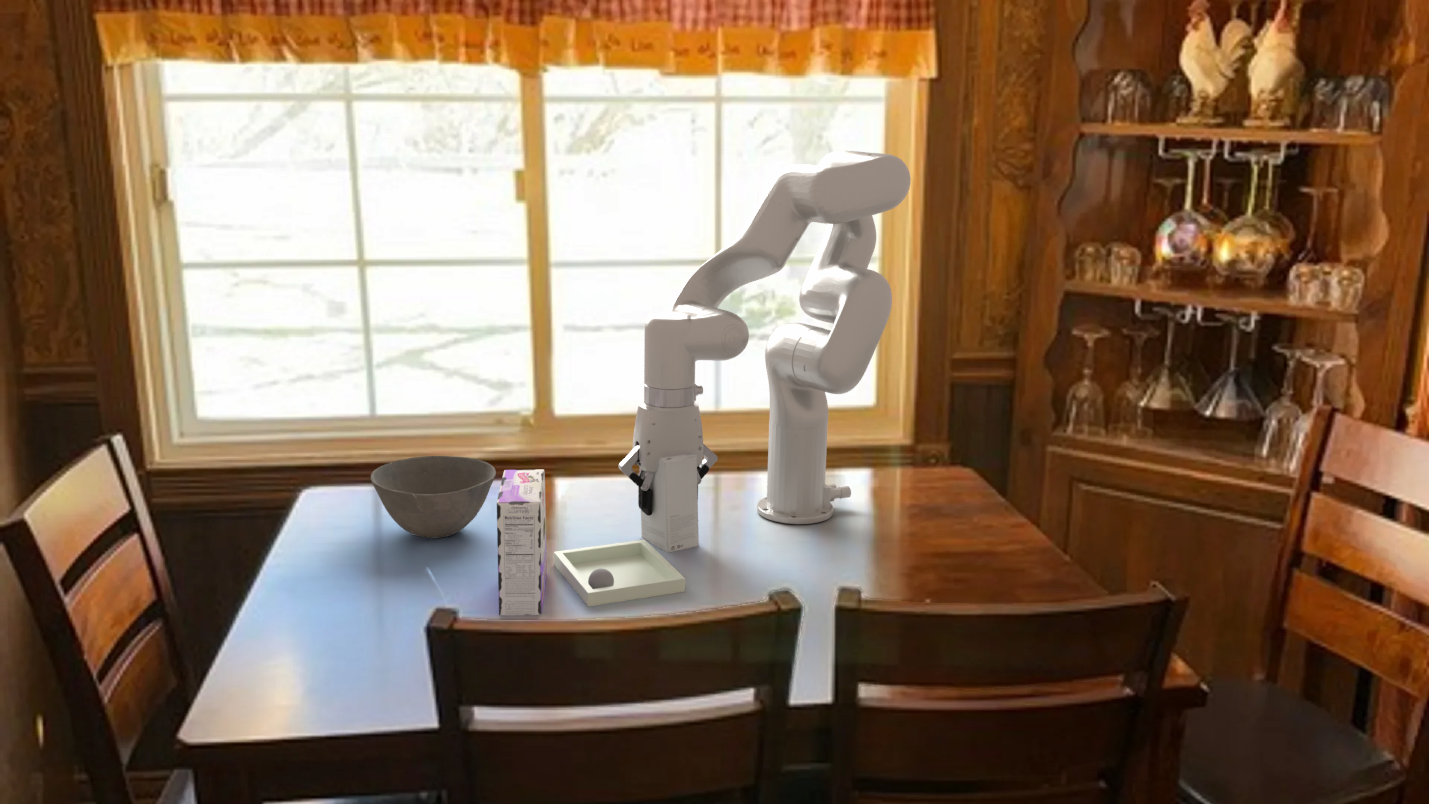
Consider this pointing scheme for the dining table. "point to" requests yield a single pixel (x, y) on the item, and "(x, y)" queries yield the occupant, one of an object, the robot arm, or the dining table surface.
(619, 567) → the tray
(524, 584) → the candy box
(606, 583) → the ball
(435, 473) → the bowl
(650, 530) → the skincare box
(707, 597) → the dining table surface
